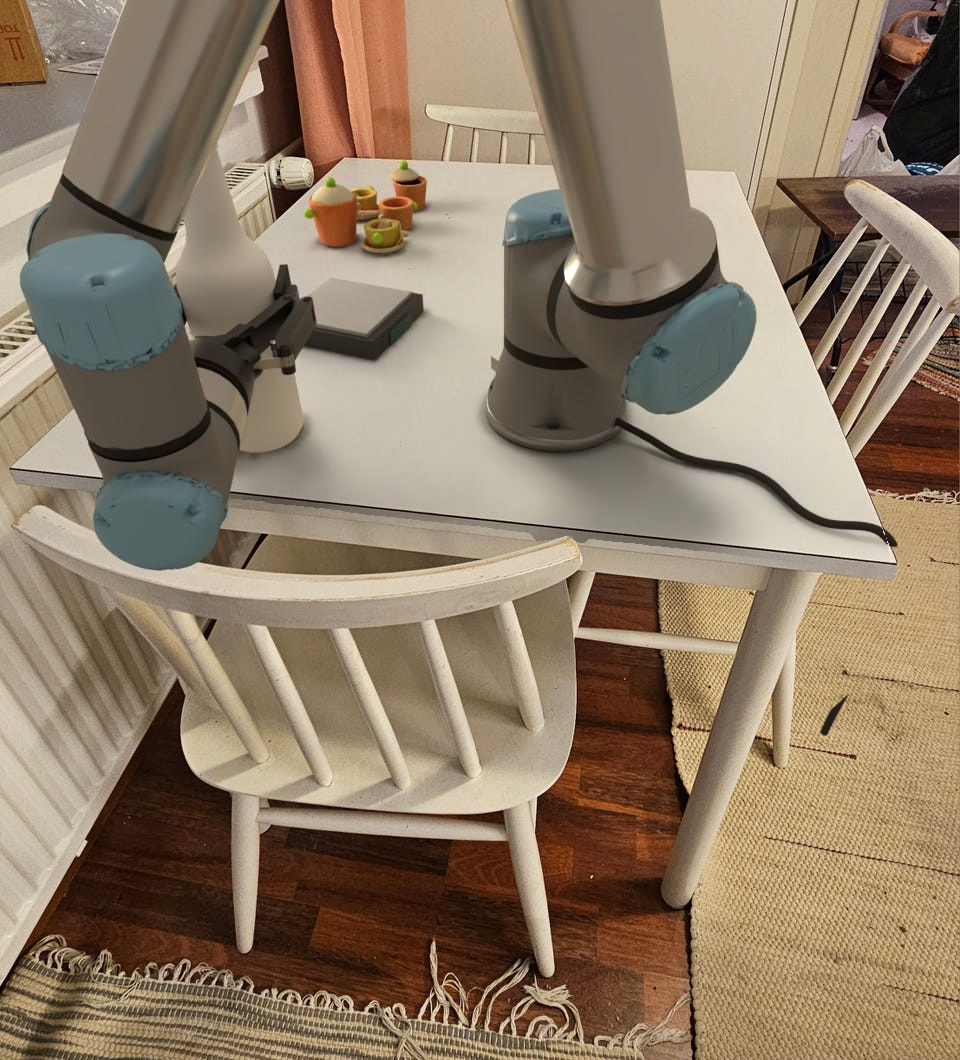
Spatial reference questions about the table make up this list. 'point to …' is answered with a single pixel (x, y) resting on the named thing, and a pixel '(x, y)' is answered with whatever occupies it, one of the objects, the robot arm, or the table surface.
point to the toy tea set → (368, 211)
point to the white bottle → (233, 301)
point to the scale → (361, 317)
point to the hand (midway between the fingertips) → (238, 280)
